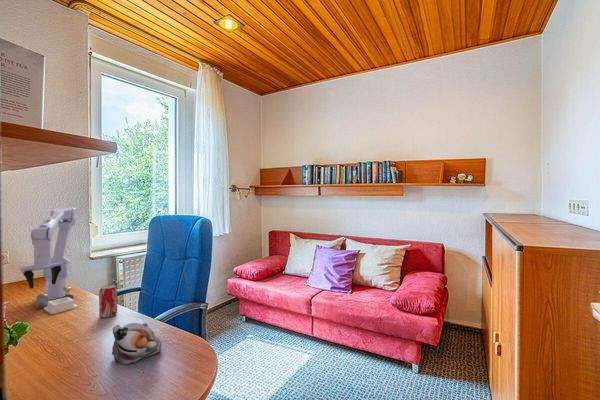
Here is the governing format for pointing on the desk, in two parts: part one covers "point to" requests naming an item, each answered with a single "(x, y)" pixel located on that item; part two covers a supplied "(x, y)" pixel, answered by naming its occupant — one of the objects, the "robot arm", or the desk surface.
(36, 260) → the robot arm
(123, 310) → the desk surface
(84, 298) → the desk surface
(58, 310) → the dock
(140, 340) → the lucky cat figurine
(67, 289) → the lock pin
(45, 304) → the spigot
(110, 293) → the beverage can
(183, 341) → the desk surface
